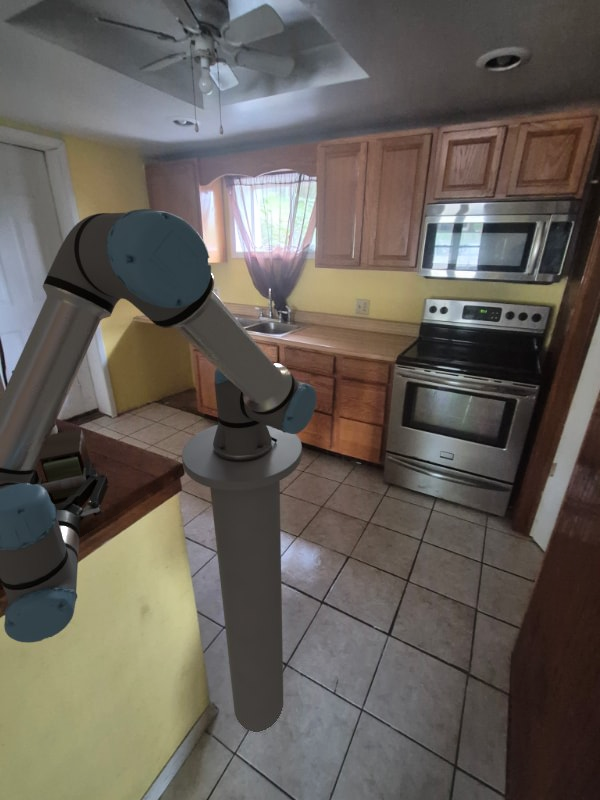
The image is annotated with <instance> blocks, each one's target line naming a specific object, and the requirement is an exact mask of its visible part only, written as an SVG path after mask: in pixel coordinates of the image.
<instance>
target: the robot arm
mask: <svg viewBox="0 0 600 800" xmlns="http://www.w3.org/2000/svg"><path fill="white" fill-rule="evenodd" d="M209 253H210V252H209V249H208V247H207V245H206V243H205V241H204V240H203V238H202V237H201V235H200V234H199V232H198V231H197V230H196V229H195V228H194V227H193V225H191V224H190V223H189V222H188V221H186V220H185V219H183V218H182V217H180V216H178V215H176V214H174V213H171V212H167V211H160V210H154V209H149V208H148V209H147V208H141V209H133V210H129V211H127V212H101V213H99V212H98V213H95V214H91V215H88V216H86V217H85V218H82V220H80V221H79V222H77V223H76V224H75V225H74V226H73V227H72V229H71V230H69V232H68V234H67V235H66V237H65V239H64V240H63V242H62V244H61V245H60V247H59V249H58V251H57V253H56V255H55V257H54V260H53V262H52V264H51V266H50V268H49V271H47V275H46V277H45V280H44V281H43V284H42V289H43V290H44V292H45V295H46V298H45V300H44V303H43V304H42V307H41V309H40V310H39V311H40V312H39V314H38V316H37V318H36V320H35V322H34V325H33V326H32V328H31V331H30V334H29V335H28V338H27V340H26V343H25V345H24V347H23V349H22V351H21V354H20V356H19V358H18V360H17V362H16V364H15V367H14V369H13V370H14V371H13V370H12V371H13V373H12V372H11V376H10V378H9V380H8V381H7V385H6V387H5V389H4V391H3V394H2V396H1V397H0V583H1V586H2V588H3V591H4V593H5V594H6V597H7V607H6V608H5V610H4V625H3V627H4V632H5V634H6V635H7V636H8V638H10V639H12V640H14V641H16V642H20V643H28V644H29V643H37V642H41V641H43V640H46V639H49V638H52V637H54V636H56V635H57V634H59V633H60V632H62V631H63V630H64V629H66V627H68V625H69V624H70V623H71V621H72V619H73V617H74V614H75V608H76V602H77V599H78V594H77V588H78V587H77V585H78V569H79V568H78V567H79V551H80V540H81V539H80V538H81V526H82V525H81V523H82V521H83V520H84V518H85V516H89V515H92V514H93V516H94V517H99V516H100V515H101V514H102V509H101V506H102V503H103V501H104V498H105V496H106V493H107V491H108V488H109V485H110V484H109V480H108V477H107V474H106V473H104V474H101V475H100V476H99V472H98V469H97V468H93V465H92V464H93V463H92V460H91V458H89V459H88V460H86V475H85V476H86V481H85V483H84V484H83V485H82V486H81V487H80V488H79V489H78V490H77V491H76V493H75V494H74V495H70V496H69V497H66V498H65V500H64V501H62V502H58V503H56V504H54V503H53V502H52V500H51V499H52V498H51V497H50V495H49V494H50V493H48V492H47V490H46V489H45V488H44V487H42V486H40V485H38V480H39V478H40V477H39V474H38V471H37V470H36V468H37V465H38V463H39V461H40V457H41V454H42V451H43V449H44V447H45V445H46V442H47V440H48V438H49V436H50V433H51V431H52V429H53V427H54V424H55V422H57V420H58V418H59V416H60V413H61V411H62V409H63V407H64V404H65V401H66V399H67V397H68V395H69V394H70V391H71V389H72V386H73V384H74V381H75V379H76V377H77V375H78V372H79V370H80V368H81V366H82V363H83V361H84V359H85V357H86V355H87V352H88V350H89V348H90V345H91V343H92V341H93V338H94V336H95V334H96V331H97V330H98V327H99V325H100V323H101V322H102V320H104V319H106V318H107V319H108V318H110V317H112V314H113V311H114V309H115V307H116V305H117V304H118V302H119V301H120V300H121V299H123V300H126V301H127V302H129V303H131V304H132V306H134V307H135V308H136V309H137V310H138V311H140V313H142V314H143V315H144V316H145V317H146V318H147V319H148V320H150V321H151V322H152V323H153V324H154V325H155V326H157V327H159V328H163V329H169V328H173V329H174V330H175V331H176V332H177V333H179V335H181V336H182V337H183V338H184V339H185V340H186V341H187V342H188V343H189V344H190V345H191V346H193V347H194V349H196V350H197V351H198V352H199V353H200V354H201V355H202V356H203V357H204V358H205V359H206V360H207V361H208V362H209V363H211V364H212V366H214V367H215V368H216V369H215V370H214V382H213V385H214V391H215V392H214V393H215V403H216V411H217V425H218V426H217V430H216V434H215V437H214V441H213V448H214V453H215V454H216V455H217V456H218V457H219V458H221V459H223V460H226V461H231V462H248V461H253V460H256V459H259V458H261V457H263V456H265V455H266V454H268V453H269V451H270V450H271V448H272V440H273V441H275V442H277V439H275V438H273V437H271V435H270V433H269V430H268V428H267V425H268V426H270V427H273V428H275V429H278V430H280V431H282V432H284V433H285V432H286V433H290V434H296V435H297V434H300V433H301V432H302V431H304V430H305V429H306V427H308V426H309V423H310V422H311V421H312V418H313V415H314V413H315V409H316V404H317V392H316V389H315V387H314V386H313V385H311V384H308V382H302V381H299V380H298V379H296V378H295V377H294V375H293V374H292V373H291V371H290V370H289V369H288V368H287V367H286V366H284V365H283V364H280V363H274V362H273V361H272V360H271V358H269V356H268V355H267V354H266V352H265V351H264V350H263V349H262V348H261V346H260V345H259V344H258V343H257V342H256V340H255V339H254V338H253V337H252V335H251V334H250V333H249V332H248V331H247V329H246V328H244V326H243V325H242V324H241V322H240V321H239V320H238V319H237V318H236V317H235V316H234V314H233V313H232V312H231V310H230V309H229V308H228V307H227V306H226V305H225V303H224V302H223V301H222V300H221V299H220V297H219V296H218V295H217V294H216V293H215V292H214V288H215V277H214V275H213V273H212V266H211V264H209V259H210V258H211V256H210V254H209ZM86 502H87V504H86V506H85V507H84V505H85V503H86ZM82 507H84V508H82Z"/></svg>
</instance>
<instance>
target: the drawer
mask: <svg viewBox="0 0 600 800" xmlns="http://www.w3.org/2000/svg"><path fill="white" fill-rule="evenodd" d="M43 467H44V470H45V473H46V476H47V479H48V483H47V482H44V483H43V481H44V479H43V477H41V476H40V477H39V480H38V485H40V486H42V487H44V488H45V489H46V490H47V492H48V494H51V492H52V495H53V498H54V499H53V501H58V500H61V499H66V498H68V497H69V496H70V495H74V494H75V493H76V491H77V490H78V489H79V488H80V487H81V486H82V485H83V484H84V483H85V481H86V476H85V475H86V468H84V470H83V474H82V470H81V466H80V463H79V459H78V455H77V454H75V455H71V456H66V457H61V458H56V459H51V460H48V462H47V463H44V465H43Z"/></svg>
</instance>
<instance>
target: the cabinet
mask: <svg viewBox="0 0 600 800" xmlns="http://www.w3.org/2000/svg"><path fill="white" fill-rule="evenodd" d="M75 454H77V455H78V459H79V463H80V466H81V470H82V474H83V470H84V468H86V460H88V459H90V456H89V452H88V447H87V444H86V440H85V435H84V433H83V429H82V428H80V429H75V430H68V431H64V432H63V431H62V432H58V433H57V434H51V435H50V436H49V438H48V440H47V442H46V445H45V447H44V449H43V451H42V454H41V456H40V458H39V461H40V464H41V468H42V471H43V474H44V477H45V480H46V483H48V479H47V476H46V473H45V470H44V467H43V465H44V463H47V462H48V460H51V459H56V458H61V457H66V456H71V455H75ZM50 496H51V499H52V500H54V498H53V495H52V492H51V493H50Z"/></svg>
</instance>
